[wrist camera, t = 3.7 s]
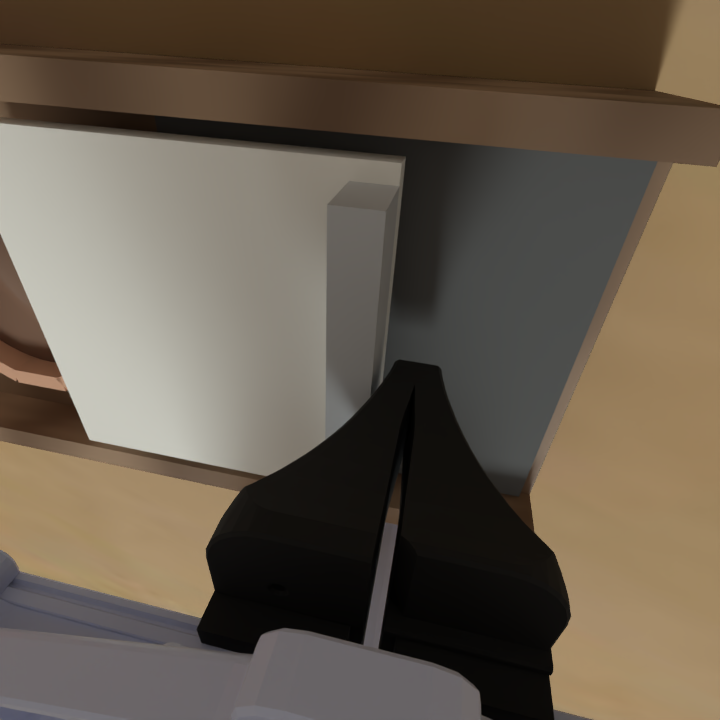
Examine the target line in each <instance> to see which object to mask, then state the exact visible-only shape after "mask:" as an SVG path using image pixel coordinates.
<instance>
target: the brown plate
mask: <svg viewBox="0 0 720 720" xmlns="http://www.w3.org/2000/svg"><path fill="white" fill-rule="evenodd" d="M0 373H2V374H4V375H6V376H7V377H9V378H11V379H13V380H14V381H17V380H18V382H19V383H25V384H30V385H35V386H40V387H46V388H51V389H56V390H61V391H67V390H68V389H67V387H66V384H65V382H64V380H63V377H62V375H61V373H60V371H59V368H58V366H57V364H56V361H55V359H54V357H53V354H52V352H51V350H50V347H49V345H48V343H47V340H46V338H45V336H44V334H43V331H42V329H41V327H40V324H39V322H38V320H37V317H36V315H35V313H34V310H33V308H32V306H31V304H30V301H29V299H28V297H27V294H26V292H25V290H24V287H23V285H22V283H21V280H20V278H19V276H18V273H17V271H16V269H15V267H14V264H13V262H12V260H11V257H10V255H9V253H8V250H7V248H6V246H5V243H4V241H3V239H2V237H1V234H0Z"/></svg>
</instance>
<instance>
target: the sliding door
mask: <svg viewBox="0 0 720 720" xmlns="http://www.w3.org/2000/svg"><path fill="white" fill-rule="evenodd" d="M405 160H406V156H396V155H386V154H375V153H365V152H355V151H345V150H334V149H324V148H314V147H303V146H293V145H283V144H273V143H262V142H252V141H242V140H231V139H221V138H211V137H201V136H190V135H180V134H170V133H160V132H149V131H139V130H129V129H118V128H108V127H98V126H88V125H77V124H67V123H57V122H47V121H36V120H26V119H16V118H5V117H0V234H1V237H2V239H3V241H4V243H5V246H6V248H7V250H8V253H9V255H10V257H11V260H12V262H13V264H14V267H15V269H16V271H17V273H18V276H19V278H20V280H21V283H22V285H23V287H24V290H25V292H26V294H27V297H28V299H29V301H30V304H31V306H32V308H33V310H34V313H35V315H36V317H37V320H38V322H39V324H40V327H41V329H42V331H43V334H44V336H45V338H46V340H47V343H48V345H49V347H50V350H51V352H52V354H53V357H54V359H55V361H56V364H57V366H58V368H59V371H60V373H61V375H62V377H63V380H64V382H65V384H66V387H67V389H68V391H69V394H70V396H71V398H72V401H73V403H74V405H75V407H76V410H77V412H78V414H79V417H80V419H81V421H82V424H83V426H84V428H85V431H86V433H87V435H88V438H89V440H92V441H97V442H102V443H107V444H112V445H117V446H122V447H127V448H131V449H136V450H141V451H146V452H151V453H156V454H161V455H166V456H170V457H175V458H180V459H185V460H190V461H195V462H200V463H205V464H210V465H214V466H219V467H224V468H229V469H234V470H239V471H244V472H249V473H253V474H258V475H263V476H268V475H270V474H272V473H274V472H276V471H278V470H280V469H282V468H283V467H285V466H287V465H288V464H290V463H292V462H293V461H295V460H296V459H298V458H300V457H301V456H303V455H305V454H306V453H308V452H309V451H311V450H312V449H313V448H315V447H316V446H318V445H319V444H320V443H322V442H323V441H324V440H326V439H327V438H328V437H329V436H331V435H332V434H333V433H334V432H336V431H337V430H338V429H339V428H340V427H341V426H343V425H344V424H345V423H346V422H347V421H348V420H349V419H350V418H351V417H352V416H353V415H354V414H355V413H356V412H357V411H358V410H359V409H360V408H361V407H362V406H363V405H364V404H365V403H366V402H367V400H368V399H369V398H370V397H371V396H372V394H373V393H374V392H375V391H376V390H377V388H378V387H379V386H380V385H381V383H382V382H383V373H384V363H385V354H386V344H387V334H388V325H389V315H390V305H391V296H392V286H393V276H394V267H395V257H396V247H397V238H398V228H399V218H400V209H401V199H402V189H403V180H404V170H405Z"/></svg>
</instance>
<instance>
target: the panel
mask: <svg viewBox="0 0 720 720" xmlns="http://www.w3.org/2000/svg"><path fill="white" fill-rule="evenodd" d="M154 117H155V122H156V127H157V132H160V133H170V134H180V135H190V136H201V137H211V138H221V139H231V140H242V141H252V142H262V143H273V144H283V145H293V146H303V147H314V148H324V149H334V150H345V151H355V152H365V153H375V154H386V155H396V156H406V160H405V170H404V180H403V189H402V199H401V209H400V218H399V228H398V238H397V247H396V257H395V267H394V276H393V286H392V296H391V305H390V315H389V325H388V334H387V344H386V354H385V363H384V373H383V380H384V379H385V378H386V376H387V375H388V373H389V372H390V370H391V368H392V367H393V365H394V362H395V361H397V360H399V359H401V360H407V361H413V362H419V363H425V364H431V365H437V366H439V367H440V368H441V370H442V377H443V382H444V385H445V389H446V392H447V396H448V399H449V401H450V404H451V407H452V409H453V412H454V414H455V417H456V419H457V422H458V424H459V426H460V428H461V430H462V432H463V435H464V437H465V439H466V441H467V443H468V444H469V446H470V448H471V450H472V452H473V453H474V455H475V457H476V459H477V460H478V462H479V464H480V465H481V467H482V468H483V470H484V471H485V473H486V474H487V476H488V477H489V479H490V480H491V482H492V483H493V484H494V486H495V487H496V488H497V490H498V491H499V492H500V493H502V494H507V495H513V496H518V497H519V496H520V493H521V491H522V488H523V486H524V484H525V481H526V479H527V476H528V474H529V471H530V469H531V467H532V464H533V462H534V459H535V457H536V455H537V452H538V450H539V447H540V445H541V442H542V440H543V438H544V435H545V433H546V430H547V428H548V426H549V423H550V421H551V418H552V416H553V413H554V411H555V409H556V406H557V404H558V401H559V399H560V397H561V394H562V392H563V389H564V387H565V384H566V382H567V380H568V377H569V375H570V372H571V370H572V368H573V365H574V363H575V360H576V358H577V355H578V353H579V351H580V348H581V346H582V343H583V341H584V339H585V336H586V334H587V331H588V329H589V326H590V324H591V322H592V319H593V317H594V314H595V312H596V310H597V307H598V305H599V302H600V300H601V297H602V295H603V293H604V290H605V288H606V285H607V283H608V281H609V278H610V276H611V273H612V271H613V268H614V266H615V264H616V261H617V259H618V256H619V254H620V252H621V249H622V247H623V244H624V242H625V239H626V237H627V235H628V232H629V230H630V227H631V225H632V223H633V220H634V218H635V215H636V213H637V210H638V208H639V206H640V203H641V201H642V198H643V196H644V194H645V191H646V189H647V186H648V184H649V181H650V179H651V177H652V174H653V172H654V169H655V167H656V165H657V162H658V161H647V160H637V159H626V158H615V157H604V156H593V155H582V154H571V153H560V152H549V151H538V150H527V149H517V148H506V147H495V146H484V145H473V144H462V143H451V142H440V141H429V140H418V139H408V138H397V137H386V136H375V135H364V134H353V133H342V132H331V131H320V130H309V129H299V128H288V127H277V126H266V125H255V124H244V123H233V122H222V121H211V120H200V119H190V118H179V117H168V116H157V115H154ZM402 461H403V458H402ZM398 473H400V474H402V462H401V465H400V469H399V472H398Z"/></svg>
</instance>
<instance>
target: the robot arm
mask: <svg viewBox="0 0 720 720" xmlns="http://www.w3.org/2000/svg"><path fill="white" fill-rule="evenodd" d="M402 458H403V461H402ZM401 462H402V477H401V493H400V509H399V519H398V525H396V524H391V523H386V522H385V521H386V517H387V512H388V508H389V505H390V501H391V497H392V494H393V490H394V487H395V483H396V479H397V476H398V472H399V469H400V465H401ZM206 558H207V562H208V566H209V570H210V574H211V577H212V581H213V585H214V589H215V591H214V593H213V595H212V597H211V600H210V602H209V604H208V606H207V608H206V610H205V612H204V614H203V616H202V618H198V617H194V616H190V615H186V614H182V613H179V612H175V611H171V610H167V609H163V608H159V607H155V606H152V605H148V604H144V603H140V602H136V601H132V600H128V599H125V598H121V597H117V596H113V595H109V594H105V593H101V592H97V591H94V590H90V589H86V588H82V587H78V586H74V585H70V584H67V583H63V582H59V581H55V580H51V579H47V578H43V577H40V576H36V575H32V574H28V573H24V572H20V571H19V568H18V566H17V564H16V562H15V561H14V560H13V558H11V557H10V556H9V555H8V554H7V553H5V552H3V551H2V550H0V720H592V719H588V718H584V717H580V716H576V715H573V714H569V713H565V712H561V711H557V710H553V703H552V695H551V687H550V679H549V675H551V674H552V673H553V661H552V653H551V647H552V646H553V645H554V643H555V642H556V640H557V639H558V638H559V636H560V635H561V633H562V632H563V631H564V629H565V628H566V627H567V625H568V622H569V620H570V617H571V613H570V605H569V598H568V594H567V590H566V586H565V583H564V580H563V577H562V573H561V570H560V567H559V565H558V562H557V559H556V556H555V554H554V552H553V551H552V550H551V549H550V548H549V547H548V546H547V545H546V544H545V543H544V542H543V541H542V540H541V539H540V538H539V537H538V536H537V535H536V534H535V533H534V532H533V531H532V530H531V529H530V528H529V527H528V526H527V525H526V524H525V523H524V522H523V521H522V519H521V518H520V517H519V516H518V515H517V514H516V513H515V511H514V510H513V509H512V508H511V507H510V505H509V504H508V503H507V501H506V500H505V499H504V497H503V496H502V495H501V494H500V492H499V491H498V490H497V488H496V487H495V486H494V484H493V483H492V482H491V480H490V479H489V477H488V476H487V474H486V473H485V471H484V470H483V468H482V467H481V465H480V464H479V462H478V460H477V459H476V457H475V455H474V453H473V452H472V450H471V448H470V446H469V444H468V443H467V441H466V439H465V437H464V435H463V432H462V430H461V428H460V426H459V424H458V422H457V419H456V417H455V414H454V412H453V409H452V407H451V404H450V401H449V399H448V396H447V392H446V389H445V385H444V382H443V377H442V370H441V368H440V367H439V366H437V365H431V364H425V363H419V362H413V361H407V360H401V359H399V360H397V361H395V362H394V365H393V367H392V368H391V370H390V372H389V373H388V375H387V376H386V378H385V379H384V380H383V382H382V383H381V385H380V386H379V387H378V388H377V390H376V391H375V392H374V393H373V394H372V396H371V397H370V398H369V399H368V400H367V402H366V403H365V404H364V405H363V406H362V407H361V408H360V409H359V410H358V411H357V412H356V413H355V414H354V415H353V416H352V417H351V418H350V419H349V420H348V421H347V422H346V423H345V424H344V425H343V426H341V427H340V428H339V429H338V430H337V431H336V432H334V433H333V434H332V435H331V436H329V437H328V438H327V439H326V440H324V441H323V442H322V443H320V444H319V445H318V446H316V447H315V448H313V449H312V450H311V451H309V452H308V453H306V454H305V455H303V456H301V457H300V458H298V459H296V460H295V461H293V462H292V463H290V464H288V465H287V466H285V467H283V468H282V469H280V470H278V471H276V472H274V473H272V474H270V475H268V476H266V477H264V478H262V479H260V480H258V481H256V482H254V483H252V484H250V485H247V486H245V487H244V488H243V489H242V490H241V491H240V493H239V494H238V495H237V497H236V498H235V499H234V501H233V502H232V503H231V505H230V506H229V508H228V509H227V510H226V512H225V513H224V515H223V517H222V518H221V520H220V522H219V524H218V526H217V528H216V530H215V532H214V534H213V536H212V538H211V540H210V542H209V544H208V546H207V548H206Z"/></svg>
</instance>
